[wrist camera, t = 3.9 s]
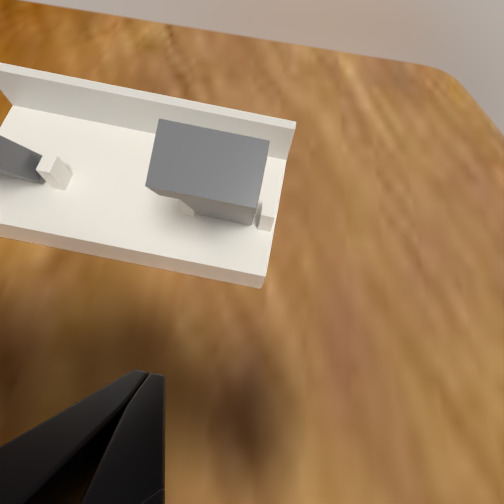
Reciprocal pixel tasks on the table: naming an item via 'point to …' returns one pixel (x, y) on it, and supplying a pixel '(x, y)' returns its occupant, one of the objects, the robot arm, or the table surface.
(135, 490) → the robot arm
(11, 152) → the lever
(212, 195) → the lever
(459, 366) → the table surface
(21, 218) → the switch box
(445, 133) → the table surface
